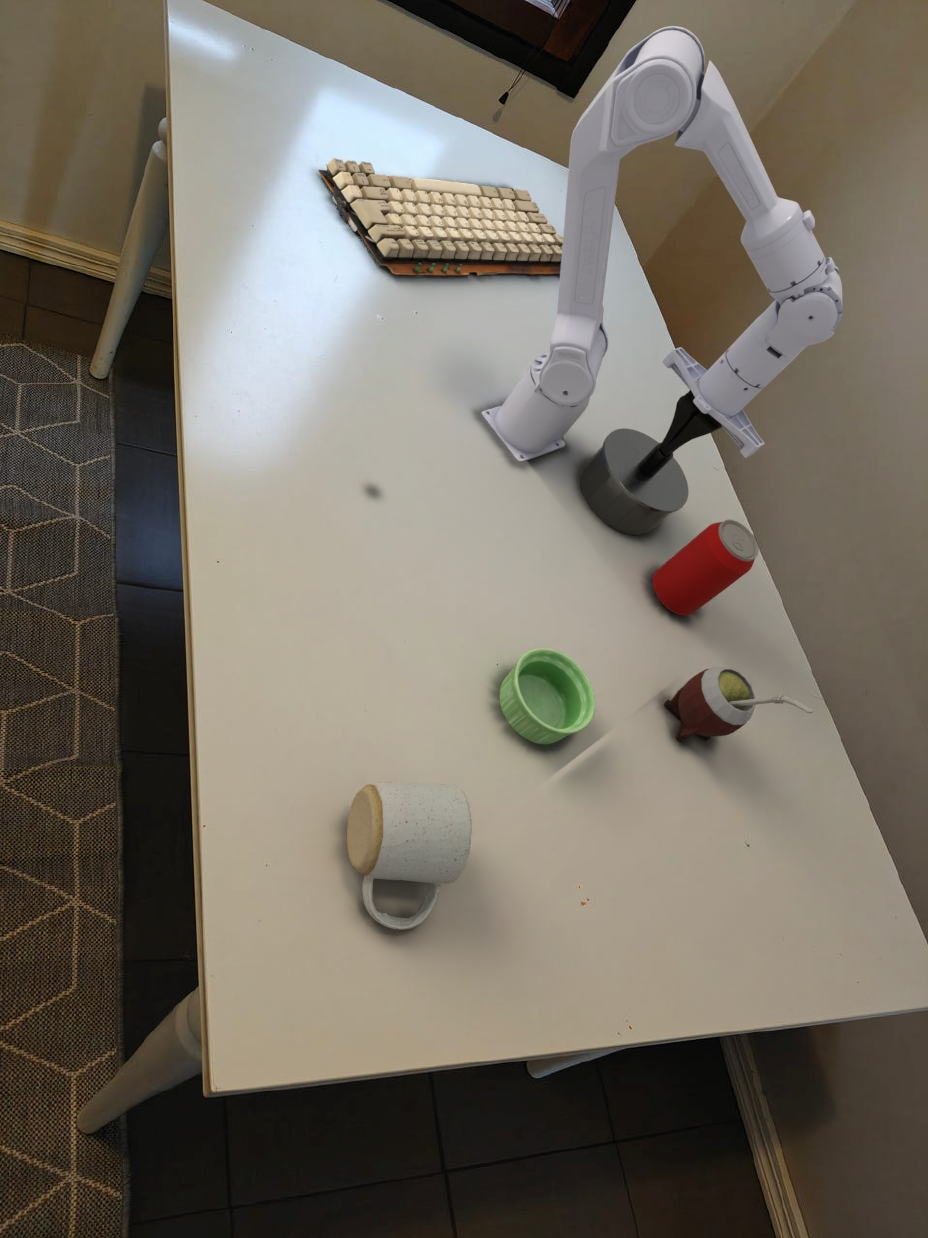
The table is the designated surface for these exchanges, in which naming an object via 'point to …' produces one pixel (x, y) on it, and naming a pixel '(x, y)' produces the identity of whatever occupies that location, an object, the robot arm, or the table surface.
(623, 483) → the tin lid
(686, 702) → the mate gourd
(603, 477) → the tin
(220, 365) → the table surface
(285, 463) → the table surface
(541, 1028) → the table surface
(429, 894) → the ceramic mug
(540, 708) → the ramekin
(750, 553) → the beverage can
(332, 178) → the mechanical keyboard
